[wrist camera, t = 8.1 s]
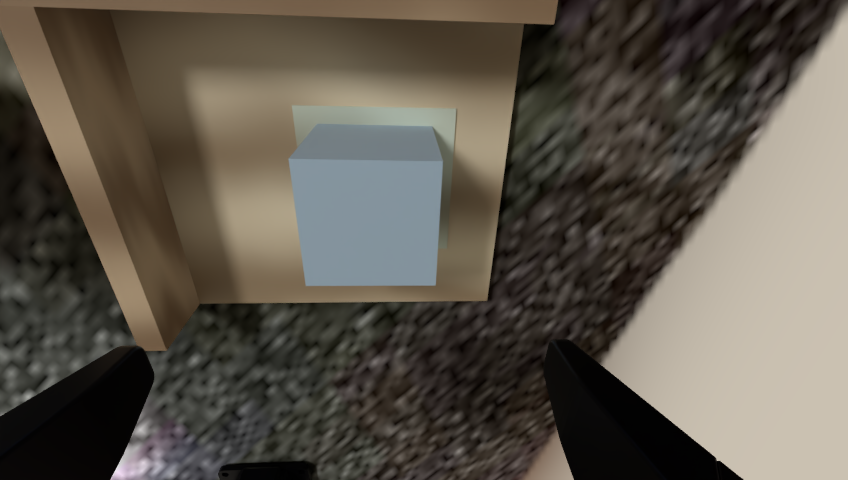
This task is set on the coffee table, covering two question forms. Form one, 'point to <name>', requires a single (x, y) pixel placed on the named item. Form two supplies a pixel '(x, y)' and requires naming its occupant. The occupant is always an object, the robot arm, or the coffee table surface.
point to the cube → (368, 204)
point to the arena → (260, 132)
